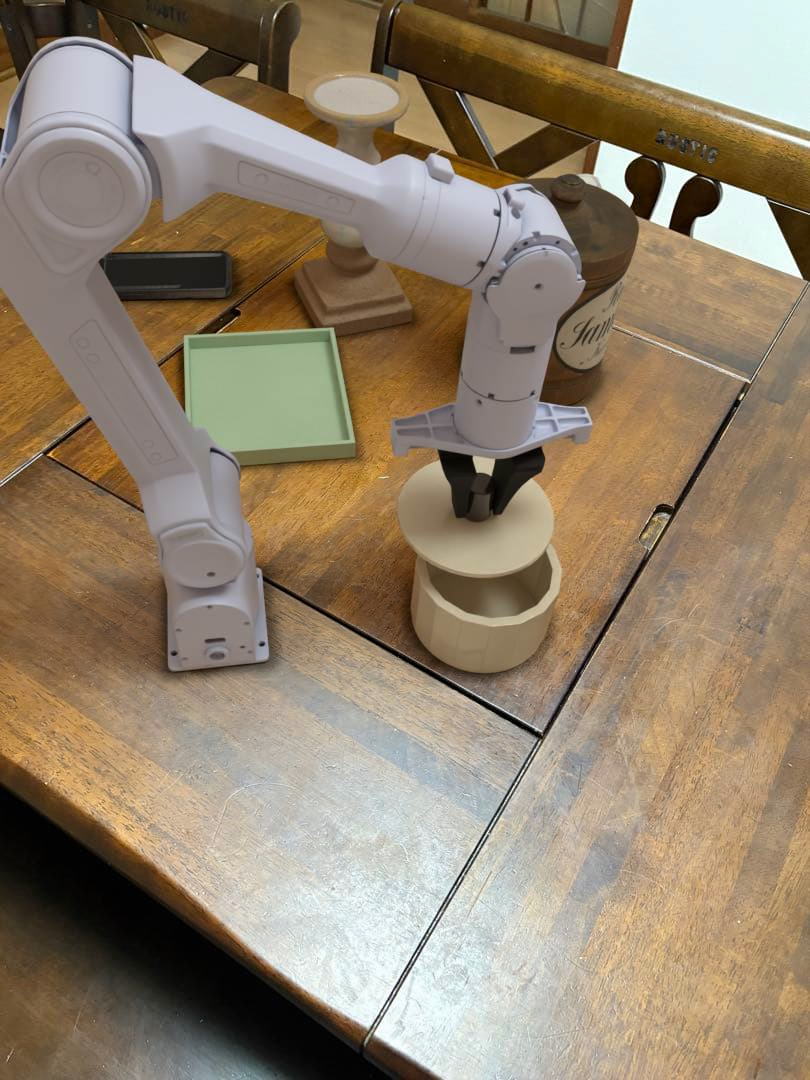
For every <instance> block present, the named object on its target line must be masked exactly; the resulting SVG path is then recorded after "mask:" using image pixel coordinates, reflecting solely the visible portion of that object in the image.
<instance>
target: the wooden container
mask: <svg viewBox="0 0 810 1080" xmlns="http://www.w3.org/2000/svg"><path fill="white" fill-rule="evenodd" d="M577 175H578V174H574V173H565V174H561V175H558V176H556V177H534V178H527V179H522V180H518V181H515V182H512V183H510V184H507V185H506V186H508V185H512V184H530V185H532V186H533V187H534V189H535V190H537V191H539V192H540V193H542V194H543V195H544V196H546V197H547V199H548V200H549V201H550V203H551V204H552V205H553V206H554V207H555V209H556V211H557V213H558V215H559V217H560V219H561V221H562V223H563V225H564V227H565V228H566V230H567V232H568V234H569V236H570V238H571V240H572V242H573V244H574V245H575V247H576V249H577V251H578V253H579V255H580V259H581V265H582V269H581V277H582V280H585V282H586V284H585V287H584V289H583V291H582V293H581V295H580V297H579V298H578V299H577V301H576V302H575V303H574V304H573V305H572V307H571V308H570V309H568V310H567V311H566V312H565V313H564V314H563V315H562V316H561V317H560V318H559V320H558V322H557V325H556V331H555V335H554V340H553V344H552V348H551V352H550V357H549V361H548V365H547V369H546V374H545V378H544V382H543V386H542V390H541V394H540V399H539V402H543V403H549V404H555V405H561V406H572V405H574V404H576V403H579V402H580V401H581V400H582V399H584V398H585V397H586V396H587V395H589V394H590V393H591V391H592V390H593V388H594V387H595V384H596V382H597V379H598V377H599V373H600V370H601V366H602V363H603V359H604V356H605V353H606V351H607V347H608V344H609V341H610V337H611V335H612V330H613V327H614V323H615V320H616V316H617V312H618V308H619V305H620V300H621V296H622V293H623V290H624V286H625V283H626V279H627V275H628V272H629V268H630V265H631V262H632V259H633V256H634V254H635V250H636V248H637V247H636V246H637V244H638V243H637V242H638V238H639V235H640V224H639V220H638V218H637V216H636V214H635V212H634V210H632V208H631V207H630V206H629V205H628V204H627V202H625V201H624V200H622V198H620V197H618V196H617V195H615V194H613V193H612V192H610V191H608V190H606V189H604V188H599V187H597V186H593V185H591V184H587V183H586V182H585V181H584V180H583V179H582V178H580V177H579V176H577Z"/></svg>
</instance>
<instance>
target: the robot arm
mask: <svg viewBox="0 0 810 1080" xmlns="http://www.w3.org/2000/svg"><path fill="white" fill-rule="evenodd" d="M132 57H133V61H132V59H130V58H129V57H128V56H127V55H126V54H124V53H123V52H122V51H120V50H119V49H118V48H116V47H115V46H112V45H111V44H109V43H107V42H104V41H103V40H102V41H101V40H99V39H97V38H92V37H87V36H67V37H63V38H59V39H56V40H53V41H51V42H49V43H46V45H45V46H43V47H42V48H40V49H39V50H38V51H37V52H36V53H35V55H33V57H32V58H31V60H30V62H29V63H28V65H27V67H26V69H25V71H24V73H23V74H22V77H21V79H20V81H19V82H18V85H17V86H16V87H15V90H14V91H13V93H12V96H11V98H10V99H9V103H8V107H7V113H6V119H5V124H4V125H5V126H4V132H3V137H2V142H1V147H0V289H1V290H2V292H3V293H4V294H5V296H6V297H7V299H8V300H9V302H10V303H11V304H12V306H13V308H14V309H15V311H16V312H17V313H18V314H19V316H20V318H21V319H22V320H23V322H24V323H25V325H26V326H27V328H28V329H29V331H30V332H31V333H32V335H33V336H34V338H35V339H36V341H37V342H38V344H39V345H40V346H41V348H42V349H43V351H44V352H45V353H46V355H47V356H48V358H49V359H50V361H51V363H53V365H54V366H55V368H56V369H57V371H58V373H59V374H60V375H61V377H62V378H63V379H64V381H65V382H66V384H67V385H68V387H69V388H70V390H71V391H72V392H73V394H74V395H75V397H76V398H77V400H78V401H79V402H80V404H81V406H82V407H83V409H84V410H85V411H86V413H87V415H89V417H90V418H91V420H92V421H93V423H94V424H95V425H96V428H97V429H98V430H99V432H100V433H101V434H102V436H103V437H104V438H105V440H106V442H107V443H108V444H109V446H110V447H111V449H112V450H113V452H114V453H115V455H116V457H118V459H119V460H120V462H121V463H122V465H123V466H124V468H125V469H126V470H127V472H128V473H129V475H130V477H132V479H133V480H134V482H135V483H136V487H137V489H138V493H139V497H140V501H141V505H142V508H143V509H142V510H143V513H144V517H145V521H146V525H147V528H148V532H149V534H150V536H151V537H152V539H153V540H154V542H155V543H156V548H157V549H156V550H157V564H158V567H159V569H160V572H161V573H162V576H163V580H164V584H165V589H166V593H167V667H168V669H169V671H171V672H183V671H190V670H200V669H201V670H202V669H209V668H219V667H228V666H229V667H230V666H238V665H247V664H256V663H264V662H267V661H268V660H269V659H270V651H269V648H270V647H269V638H268V627H267V625H268V624H267V614H266V613H267V612H266V606H265V605H266V604H265V603H266V601H265V593H264V592H265V591H264V579H263V570H262V569H261V568H260V567H257V561H256V553H255V542H254V533H253V530H252V528H251V526H250V524H249V522H248V521H247V520H246V518H245V517H244V515H243V505H242V504H243V503H242V494H241V482H240V481H241V479H242V473H241V471H242V470H241V466H240V465H239V463H238V461H237V459H236V458H235V457H234V455H233V454H231V453H230V452H229V451H227V450H226V449H224V448H222V447H221V446H219V445H218V444H216V443H215V442H214V441H213V440H212V439H211V437H210V436H209V434H208V432H207V430H206V429H205V428H204V427H193V426H192V425H191V423H190V421H189V419H188V418H187V416H186V412H185V410H184V409H183V407H182V405H181V404H180V402H179V399H178V398H177V397H176V395H175V393H174V391H173V390H172V388H171V386H170V385H169V382H168V380H167V379H166V378H165V376H164V374H163V373H162V371H161V368H160V367H159V365H158V364H157V362H156V360H155V359H154V357H153V354H152V353H151V351H150V350H149V348H148V346H147V344H146V342H145V341H144V339H143V337H142V336H141V334H140V332H139V331H138V329H137V327H136V325H135V324H134V321H133V320H132V318H131V316H130V314H129V313H128V311H127V310H126V308H125V306H124V304H123V303H122V300H120V299H119V297H118V296H117V294H116V292H115V290H114V289H113V287H112V285H111V283H110V282H109V280H108V278H107V276H106V275H105V273H104V271H103V270H102V268H101V266H100V264H99V260H100V259H101V258H102V257H104V256H105V255H106V254H107V253H109V252H112V251H113V250H115V248H116V247H118V246H119V245H120V244H122V243H123V242H124V241H126V240H127V239H128V238H129V237H130V236H131V235H133V233H135V231H136V230H138V228H140V227H141V225H142V224H143V222H144V221H145V219H146V218H147V217H148V214H149V211H150V209H151V205H152V202H153V201H154V200H155V201H156V200H162V222H163V223H169V222H173V221H175V220H176V219H178V218H179V217H181V216H183V215H184V214H185V213H187V212H189V211H190V210H191V209H193V208H194V207H196V206H197V205H199V204H200V203H202V202H204V201H205V200H206V199H209V198H211V196H213V195H214V194H217V193H224V194H229V195H232V196H236V197H239V198H243V199H246V200H250V201H253V202H257V203H261V204H265V205H269V206H272V207H275V208H279V209H283V210H287V211H291V212H294V213H297V214H301V215H305V216H308V217H312V218H315V219H319V220H320V219H322V220H326V221H330V222H333V223H337V224H341V225H344V226H348V227H351V228H355V229H356V230H357V231H358V232H359V234H360V236H361V239H362V242H363V244H364V246H365V248H366V250H367V252H368V253H369V254H370V255H371V256H372V257H374V258H377V259H380V260H383V261H385V262H386V263H389V264H392V265H395V266H398V267H401V268H403V269H406V270H409V271H413V272H415V273H419V274H422V275H424V276H427V277H430V278H434V279H436V280H439V281H442V282H445V283H448V284H451V285H454V286H458V287H461V288H463V289H467V290H470V291H472V293H471V300H470V306H469V309H468V313H467V320H466V327H465V334H464V341H463V348H462V355H461V363H460V368H459V376H458V377H459V378H458V383H457V390H456V395H455V396H456V397H455V401H452V402H449V403H447V404H443V405H440V406H437V407H434V408H431V409H428V410H426V411H423V412H420V413H417V414H413V415H410V416H409V415H408V416H403V417H396V418H391V419H390V429H389V430H390V432H389V441H390V446H391V451H392V455H393V458H394V457H395V458H396V457H406V456H408V455H409V451H410V450H419V449H420V450H421V449H435V450H436V451H437V454H438V458H439V460H440V462H441V466H442V469H443V472H444V475H445V477H446V479H447V481H448V482H449V484H450V486H451V495H452V500H451V501H452V504H453V508H454V512H455V516H456V518H465V516H466V513H467V508H468V499H469V493H470V490H471V487H472V485H473V482H474V480H475V479H476V477H477V476H478V475H477V472H476V468H475V465H474V462H473V456H478V457H483V458H490V459H495V463H494V468H493V472H492V477H493V478H494V479H495V481H496V484H497V487H496V492H495V497H494V501H493V506H492V511H493V514H494V515H501V514H502V513H503V511H504V510H505V508H506V506H507V505H508V503H509V502H510V500H511V499H512V498H513V496H514V495H515V494H516V492H517V491H518V490H519V489H520V488H521V487H522V486H523V485H524V484H525V483H526V482H527V481H529V480H530V479H531V478H532V479H533V478H534V477H536V476H538V475H539V474H542V472H543V470H544V467H545V464H546V456H545V453H544V450H543V446H545V445H548V444H551V443H553V442H556V441H559V440H564V439H571V441H572V443H573V444H574V445H575V444H576V445H581V444H582V445H583V444H584V445H585V444H589V440H590V436H591V434H592V430H593V428H594V423H593V421H592V418H591V416H590V414H589V413H590V412H589V411H588V409H587V407H586V406H570V405H568V406H561V405H555V404H549V403H543V402H539V399H540V394H541V390H542V386H543V382H544V378H545V374H546V369H547V365H548V361H549V357H550V352H551V348H552V344H553V340H554V335H555V331H556V325H557V322H558V320H559V318H560V317H561V316H562V315H563V314H564V313H565V312H566V311H567V310H568V309H570V308H571V307H572V305H573V304H574V303H575V302H576V301H577V299H578V298H579V297H580V295H581V293H582V291H583V289H584V287H585V284H586V282H585V280H582V277H581V269H582V265H581V259H580V255H579V253H578V251H577V249H576V247H575V245H574V244H573V242H572V240H571V238H570V236H569V234H568V232H567V230H566V228H565V227H564V225H563V223H562V221H561V219H560V217H559V215H558V213H557V211H556V209H555V207H554V206H553V205H552V204H551V203H550V201H549V200H548V199H547V197H546V196H544V195H543V194H542V193H540V192H539V191H537V190H535V189H534V187H533V186H532V185H530V184H512V183H511V184H512V185H509V184H507V185H508V186H507V185H504V186H502V187H499V188H496V189H495V188H492V187H489V186H487V185H484V184H481V183H479V182H476V181H474V180H472V179H469V178H466V177H464V176H462V175H459V174H456V173H455V171H454V168H453V166H452V163H451V161H450V160H449V159H448V158H447V157H446V158H445V157H444V156H441V155H439V154H436V153H434V152H431V153H429V154H428V156H427V158H426V159H425V161H423V160H421V159H419V158H417V157H414V156H411V155H408V154H405V153H404V154H403V153H400V154H397V155H395V156H392V157H390V158H388V159H385V160H383V161H381V162H380V163H379V164H377V165H370V164H368V163H365V162H363V161H361V160H359V159H357V158H354V157H352V156H350V155H348V154H346V153H343V152H341V151H339V150H337V149H335V148H334V147H333V146H330V145H328V144H325V143H323V142H321V141H320V140H316V139H315V138H313V137H310V136H309V135H306V134H304V133H302V132H300V131H297V130H295V129H293V128H291V127H288V126H286V125H285V124H282V123H279V122H278V121H275V120H273V119H271V118H268V117H267V116H265V115H262V114H259V113H258V112H255V111H253V110H251V109H249V108H247V107H244V106H242V105H240V104H238V103H237V102H233V101H231V100H229V99H227V98H225V97H223V96H220V95H218V94H216V93H214V92H212V91H210V90H208V89H207V88H204V87H202V86H201V85H199V84H198V83H196V82H194V81H192V80H191V79H190V78H188V77H186V76H184V75H183V74H181V73H180V72H178V71H176V70H175V69H173V68H172V67H170V66H168V65H167V64H165V63H164V62H161V61H160V60H157V59H155V58H150V57H148V56H147V57H145V56H141V55H138V54H133V56H132ZM262 645H263V646H262ZM173 654H176V655H173Z"/></svg>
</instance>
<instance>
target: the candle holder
mask: <svg viewBox="0 0 810 1080" xmlns="http://www.w3.org/2000/svg"><path fill="white" fill-rule="evenodd" d="M409 95H410V94H409V93H408V91H407V90H406V88H405V87H404V86H403V85H402V84H401V83H399V82H398V81H396V80H395V79H392V78H390V77H388V76H385V75H383V74H380V73H375V72H369V71H362V70H341V71H340V70H339V71H333V72H329V73H325V74H322V75H319V76H317V77H315V78H313V79H312V80H311V81H310V82H309V83H307V85H306V86H305V88H304V90H303V95H302V97H303V103H304V106H305V108H306V109H307V110H308V111H309V113H311V114H312V115H313V116H314V117H315V118H316V119H319V120H320V121H322V122H325V123H328V124H331V125H333V126H334V128H335V129H336V132H337V141H336V144H335V146H334V147H333V148H335V149H337V150H339V151H341V152H343V153H346V154H348V155H350V156H352V157H354V158H357V159H359V160H361V161H363V162H365V163H368V164H370V165H377V164H379V163H381V162H382V155H381V153H380V152H379V150H378V149H377V147H376V146H375V143H374V136H375V132H376V131H377V130H378V129H379V127H383V126H387V125H389V124H393V123H395V122H396V121H398V120H400V119H401V118H402V117H404V115H405V114H406V113H407V111H408V109H409V106H410V96H409ZM319 225H320V228H321V231H322V232H323V234H324V235H325V237H326V238H327V239H328V240H327V242H326V244H325V255H326V256H324V257H318V258H313V259H310V260H309V259H308V260H306V261H304V262H302V263H301V269H297V270H294V275H293V277H294V278H293V279H294V288H295V290H296V292H297V295H298V296H299V298H300V300H301V302H302V305H303V306H304V307H305V309H306V311H307V314H308V316H309V318H310V319H311V321H312V323H313V325H314V327H315V328H334V332H335V337H337V338H338V337H341V336H347V335H353V334H358V333H362V332H368V331H373V330H378V329H383V328H387V327H394V326H399V325H403V324H407V323H410V322H412V320H413V305H412V304H411V301H410V299H409V298H408V296H407V295H406V293H405V292H404V290H403V288H402V286H401V283H400V282H399V281H398V279H397V277H396V275H395V273H394V272H393V271H392V269H391V267H390V266H389V264H388V262H386V261H383V260H380V259H377V258H374V257H372V256H371V255H370V254H369V253H368V252H367V250H366V248H365V246H364V244H363V242H362V239H361V236H360V234H359V232H358V231H357V230H356V229H355V228H351V227H348V226H344V225H341V224H337V223H333V222H330V221H326V220H322V219H319Z"/></svg>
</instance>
